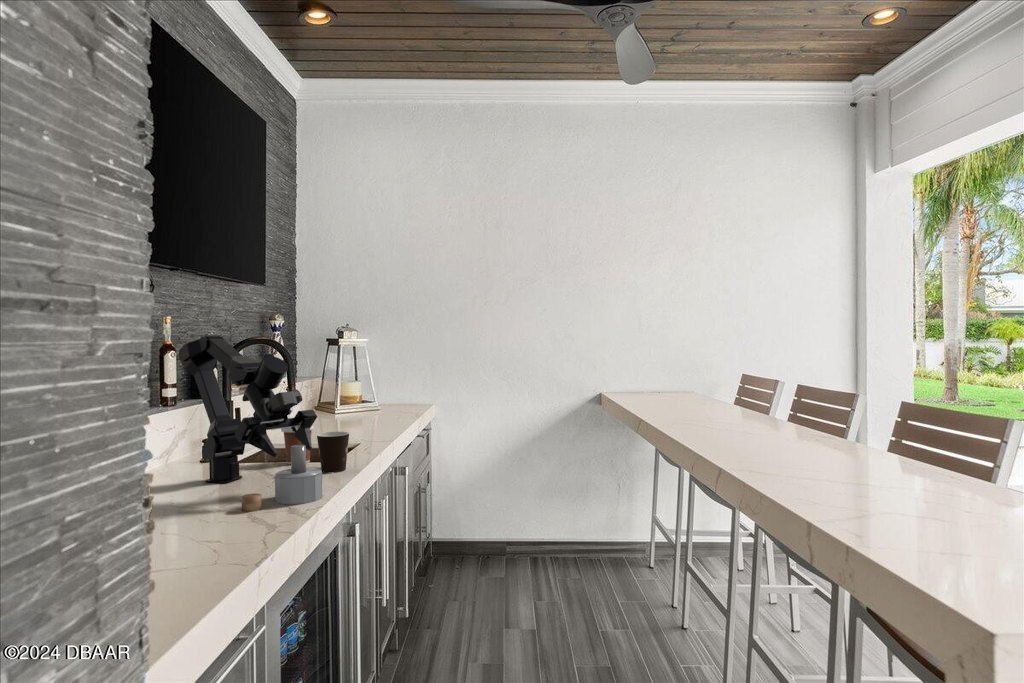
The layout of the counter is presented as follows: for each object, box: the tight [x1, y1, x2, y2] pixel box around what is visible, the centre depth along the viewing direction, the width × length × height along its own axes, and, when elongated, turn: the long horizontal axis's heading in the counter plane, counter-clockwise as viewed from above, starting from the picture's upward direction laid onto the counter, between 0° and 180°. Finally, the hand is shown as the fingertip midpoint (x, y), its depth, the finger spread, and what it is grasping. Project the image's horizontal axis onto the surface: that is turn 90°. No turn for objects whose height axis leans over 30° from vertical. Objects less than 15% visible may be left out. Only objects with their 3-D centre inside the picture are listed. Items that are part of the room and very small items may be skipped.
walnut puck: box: [240, 493, 263, 513], centre depth 134 cm, size 4×4×3 cm
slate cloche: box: [274, 445, 323, 505], centre depth 142 cm, size 10×10×12 cm
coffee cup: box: [280, 425, 315, 465], centre depth 183 cm, size 9×9×12 cm
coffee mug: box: [316, 431, 350, 473], centre depth 173 cm, size 12×9×10 cm
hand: (293, 452), depth 143 cm, fingers open, 9 cm apart
